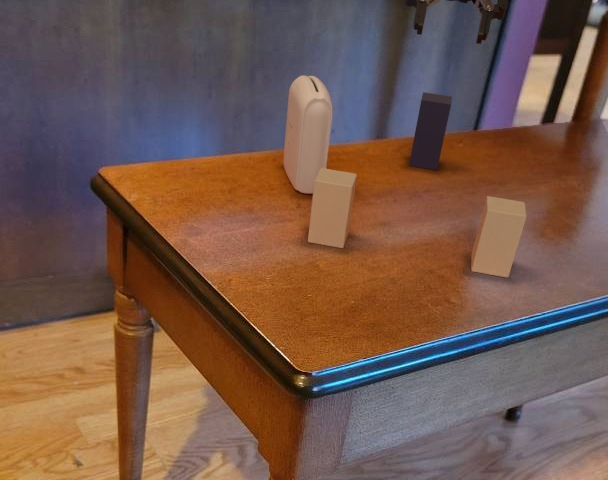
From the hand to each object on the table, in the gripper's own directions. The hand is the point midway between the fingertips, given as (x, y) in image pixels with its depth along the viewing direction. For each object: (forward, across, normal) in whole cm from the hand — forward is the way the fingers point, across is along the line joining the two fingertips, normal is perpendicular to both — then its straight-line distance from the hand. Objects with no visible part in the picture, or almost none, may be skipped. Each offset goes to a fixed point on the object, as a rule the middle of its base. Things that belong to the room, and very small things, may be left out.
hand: (449, 35), depth 105 cm
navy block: (+18, 0, +3) cm, 18 cm away
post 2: (+39, +9, -18) cm, 44 cm away
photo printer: (+28, -15, -7) cm, 33 cm away
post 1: (+39, -9, -18) cm, 44 cm away
